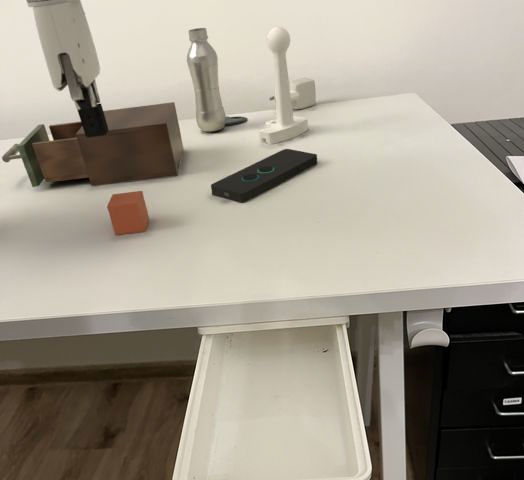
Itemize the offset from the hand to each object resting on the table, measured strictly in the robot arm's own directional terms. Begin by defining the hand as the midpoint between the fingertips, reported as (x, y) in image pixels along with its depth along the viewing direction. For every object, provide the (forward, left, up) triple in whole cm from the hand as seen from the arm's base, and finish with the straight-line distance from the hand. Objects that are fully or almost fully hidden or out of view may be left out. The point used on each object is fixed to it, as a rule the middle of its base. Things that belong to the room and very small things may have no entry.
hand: (97, 134), depth 82 cm
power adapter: (+32, +53, -14) cm, 63 cm away
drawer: (-15, +25, -13) cm, 32 cm away
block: (+2, -3, -14) cm, 14 cm away
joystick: (+28, +35, -14) cm, 47 cm away
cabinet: (-1, +25, -14) cm, 28 cm away
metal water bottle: (+13, +44, -14) cm, 48 cm away
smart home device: (+24, +11, -14) cm, 30 cm away
